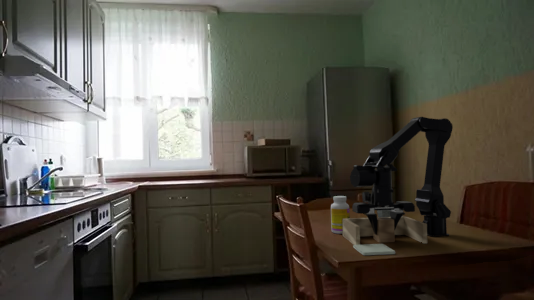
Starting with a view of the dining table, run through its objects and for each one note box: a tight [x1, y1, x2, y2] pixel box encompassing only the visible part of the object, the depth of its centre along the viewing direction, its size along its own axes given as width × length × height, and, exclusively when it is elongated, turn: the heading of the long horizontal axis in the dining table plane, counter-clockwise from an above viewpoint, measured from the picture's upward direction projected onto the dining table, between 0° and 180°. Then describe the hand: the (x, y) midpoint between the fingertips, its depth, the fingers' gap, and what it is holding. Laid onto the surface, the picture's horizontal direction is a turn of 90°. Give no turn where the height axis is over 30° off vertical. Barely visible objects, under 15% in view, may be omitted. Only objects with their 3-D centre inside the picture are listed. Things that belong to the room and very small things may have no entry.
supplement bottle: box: [330, 195, 351, 235], centre depth 133 cm, size 7×7×13 cm
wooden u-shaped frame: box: [342, 215, 428, 245], centre depth 120 cm, size 22×14×6 cm, turn 94°
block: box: [373, 217, 396, 244], centre depth 119 cm, size 5×5×7 cm
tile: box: [352, 243, 396, 256], centre depth 107 cm, size 9×9×1 cm
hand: (383, 234), depth 119 cm, fingers closed on block, 5 cm apart
